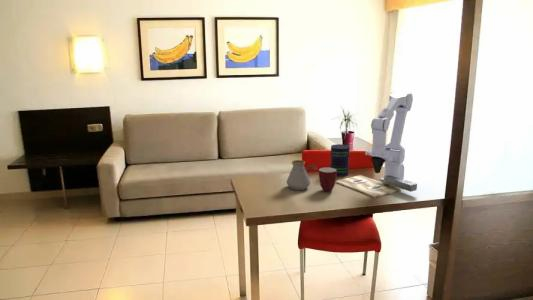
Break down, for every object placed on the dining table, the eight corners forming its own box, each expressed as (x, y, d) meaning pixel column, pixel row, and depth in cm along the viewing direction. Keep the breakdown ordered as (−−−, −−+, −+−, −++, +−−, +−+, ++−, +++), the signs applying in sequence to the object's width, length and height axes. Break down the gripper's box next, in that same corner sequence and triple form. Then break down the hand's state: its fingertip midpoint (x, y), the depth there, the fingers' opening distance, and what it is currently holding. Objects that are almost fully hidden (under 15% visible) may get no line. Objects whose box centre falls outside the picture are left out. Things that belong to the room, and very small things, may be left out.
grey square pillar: (381, 184, 187) (382, 175, 186) (387, 183, 189) (387, 174, 188) (410, 194, 173) (411, 185, 172) (416, 192, 175) (417, 183, 174)
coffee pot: (282, 185, 191) (282, 156, 187) (303, 182, 195) (303, 153, 192) (304, 200, 172) (304, 167, 168) (326, 195, 176) (327, 163, 173)
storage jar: (336, 177, 203) (336, 149, 199) (326, 172, 212) (327, 145, 208) (352, 175, 206) (353, 147, 203) (342, 170, 215) (343, 143, 211)
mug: (340, 194, 178) (340, 173, 175) (323, 195, 177) (323, 174, 174) (332, 187, 188) (333, 167, 186) (316, 188, 187) (316, 168, 184)
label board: (360, 176, 203) (360, 174, 203) (400, 190, 182) (400, 188, 181) (335, 182, 195) (335, 180, 194) (374, 197, 173) (374, 195, 173)
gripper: (361, 142, 182) (359, 170, 185) (385, 148, 170) (383, 178, 173) (371, 140, 186) (370, 167, 189) (396, 146, 173) (394, 175, 177)
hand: (377, 172), depth 181 cm, fingers closed
